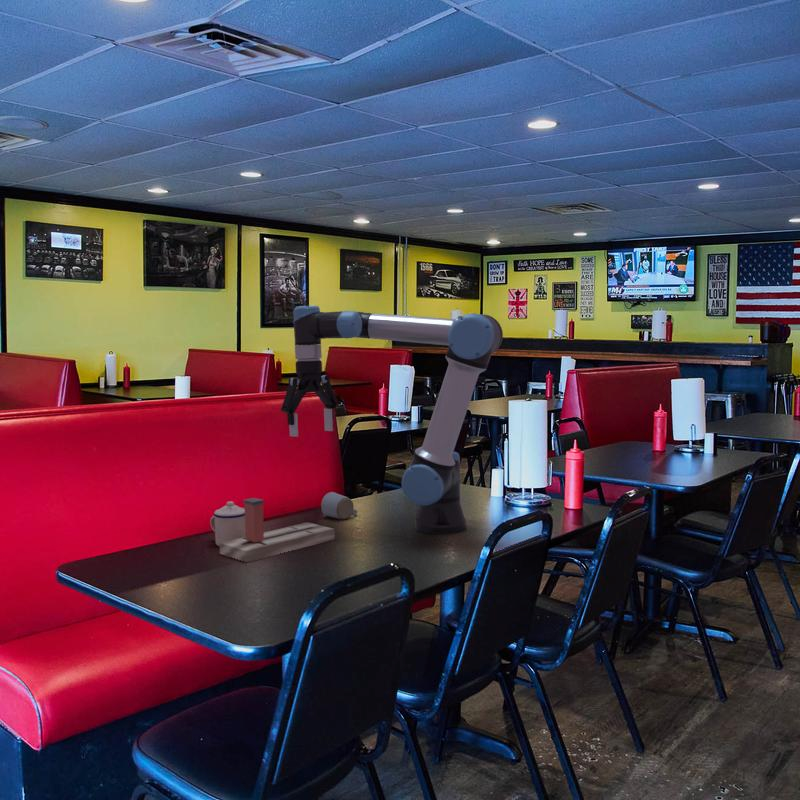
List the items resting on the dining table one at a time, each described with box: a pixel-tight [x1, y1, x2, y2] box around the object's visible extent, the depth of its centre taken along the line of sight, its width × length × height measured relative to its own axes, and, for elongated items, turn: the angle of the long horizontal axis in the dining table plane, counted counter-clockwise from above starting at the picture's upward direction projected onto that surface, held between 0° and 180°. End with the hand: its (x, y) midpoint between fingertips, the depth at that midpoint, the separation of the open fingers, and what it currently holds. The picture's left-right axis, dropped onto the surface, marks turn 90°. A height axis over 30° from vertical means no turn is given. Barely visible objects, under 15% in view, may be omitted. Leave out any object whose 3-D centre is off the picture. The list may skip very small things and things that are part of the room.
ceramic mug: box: [320, 491, 358, 520], centre depth 257 cm, size 11×8×8 cm
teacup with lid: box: [209, 501, 245, 547], centre depth 228 cm, size 12×9×12 cm
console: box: [219, 521, 336, 563], centre depth 224 cm, size 12×30×3 cm, turn 136°
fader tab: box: [242, 497, 265, 542], centre depth 217 cm, size 4×3×11 cm
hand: (311, 433), depth 237 cm, fingers open, 13 cm apart
